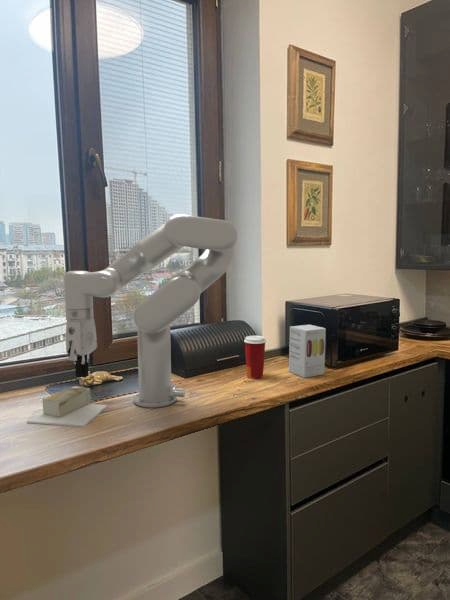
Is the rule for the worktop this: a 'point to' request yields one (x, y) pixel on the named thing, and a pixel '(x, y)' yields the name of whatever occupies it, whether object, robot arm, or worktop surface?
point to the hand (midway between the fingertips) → (82, 376)
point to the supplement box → (307, 350)
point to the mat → (70, 416)
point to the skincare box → (66, 401)
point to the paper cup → (255, 356)
